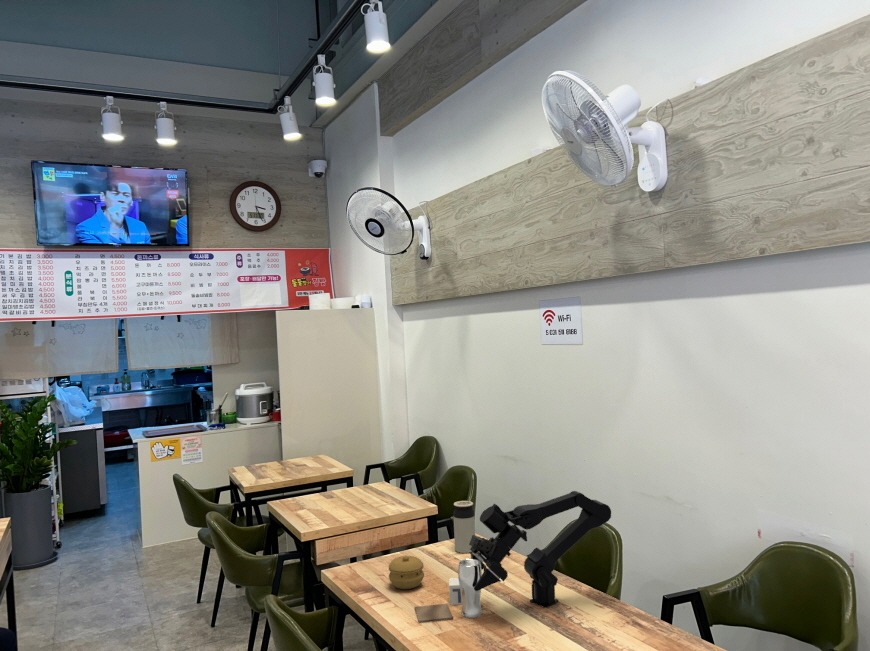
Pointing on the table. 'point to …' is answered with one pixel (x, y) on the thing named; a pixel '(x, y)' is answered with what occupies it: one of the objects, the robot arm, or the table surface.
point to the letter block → (455, 592)
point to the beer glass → (470, 587)
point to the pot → (406, 572)
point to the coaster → (433, 613)
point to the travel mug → (463, 526)
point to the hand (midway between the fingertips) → (470, 584)
